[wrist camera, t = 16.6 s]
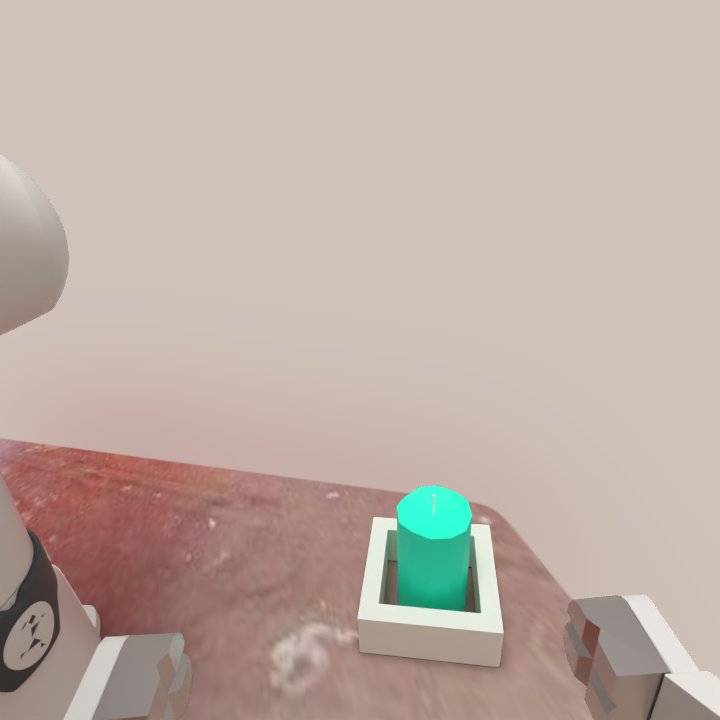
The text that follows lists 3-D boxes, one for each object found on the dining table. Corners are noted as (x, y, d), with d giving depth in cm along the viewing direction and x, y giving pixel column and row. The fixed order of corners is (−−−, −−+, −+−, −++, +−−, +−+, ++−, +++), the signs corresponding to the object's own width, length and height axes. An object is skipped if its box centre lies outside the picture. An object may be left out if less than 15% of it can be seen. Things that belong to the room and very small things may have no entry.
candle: (446, 565, 47) (451, 464, 42) (478, 619, 42) (487, 511, 36) (388, 583, 45) (385, 480, 40) (413, 641, 40) (414, 531, 35)
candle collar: (359, 652, 39) (357, 618, 38) (375, 547, 49) (373, 517, 47) (499, 667, 38) (503, 633, 36) (486, 556, 48) (489, 525, 46)
